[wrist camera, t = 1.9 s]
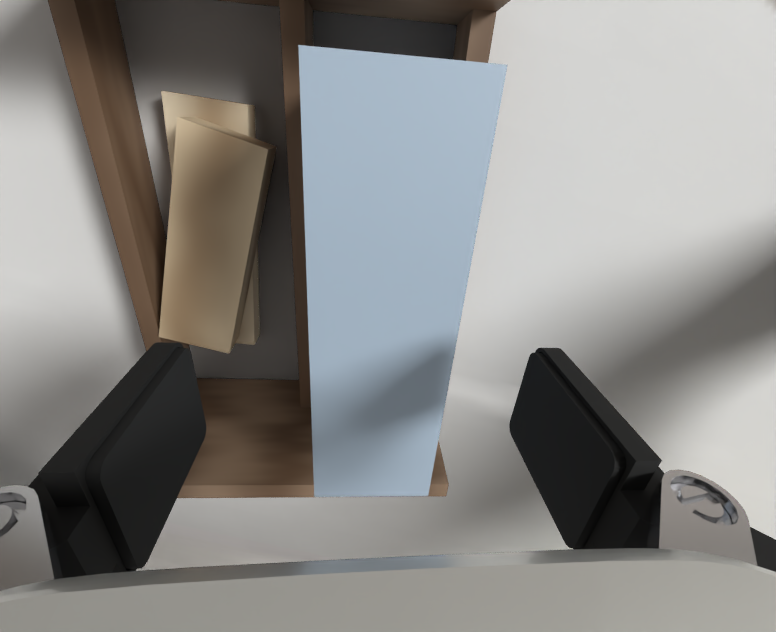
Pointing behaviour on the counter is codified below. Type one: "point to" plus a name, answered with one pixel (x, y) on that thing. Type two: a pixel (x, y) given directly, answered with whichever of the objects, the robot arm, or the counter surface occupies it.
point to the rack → (148, 242)
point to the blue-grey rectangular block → (388, 253)
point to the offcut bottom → (237, 120)
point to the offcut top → (212, 232)
